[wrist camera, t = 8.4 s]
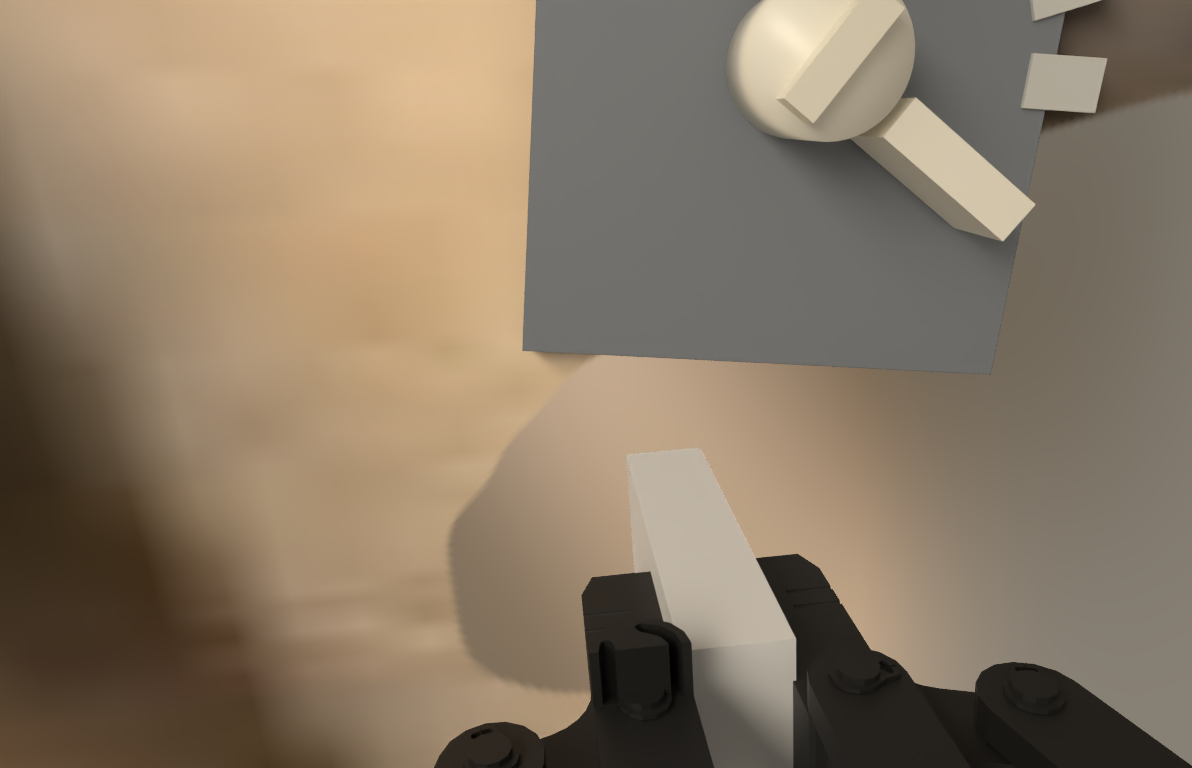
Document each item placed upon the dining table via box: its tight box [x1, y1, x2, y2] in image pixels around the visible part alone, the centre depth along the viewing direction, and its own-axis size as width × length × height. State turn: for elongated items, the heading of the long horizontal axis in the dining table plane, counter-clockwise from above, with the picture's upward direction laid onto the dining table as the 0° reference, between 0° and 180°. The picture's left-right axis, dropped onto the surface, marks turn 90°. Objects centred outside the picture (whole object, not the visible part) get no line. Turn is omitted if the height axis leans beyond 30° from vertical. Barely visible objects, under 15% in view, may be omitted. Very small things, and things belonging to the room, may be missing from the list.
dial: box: [726, 0, 1035, 241], centre depth 33 cm, size 16×13×6 cm
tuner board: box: [522, 0, 1107, 375], centre depth 37 cm, size 24×26×2 cm
